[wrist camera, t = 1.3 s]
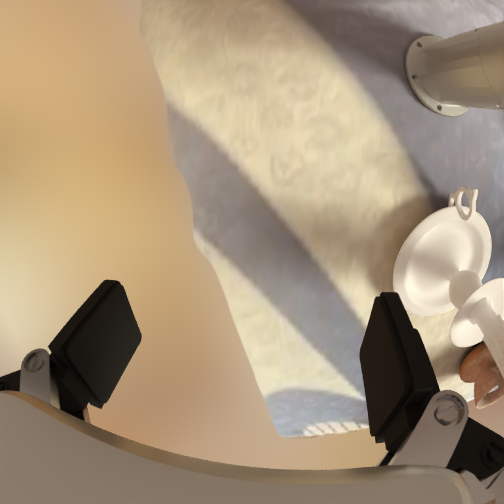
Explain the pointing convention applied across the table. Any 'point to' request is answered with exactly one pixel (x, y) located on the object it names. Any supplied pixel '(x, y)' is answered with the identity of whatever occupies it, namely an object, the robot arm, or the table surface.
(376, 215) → the table surface
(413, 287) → the candlestick
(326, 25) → the table surface
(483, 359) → the ceramic jug
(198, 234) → the table surface
